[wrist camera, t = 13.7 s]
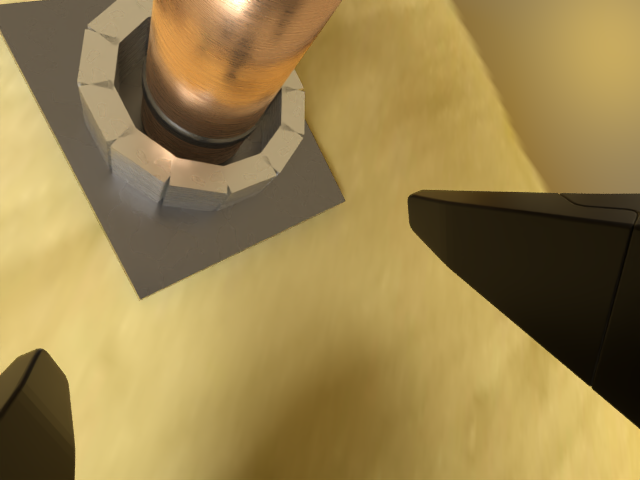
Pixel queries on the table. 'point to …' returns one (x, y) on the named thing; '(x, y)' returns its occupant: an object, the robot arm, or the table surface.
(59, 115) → the plate
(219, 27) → the tan cylinder
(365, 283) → the table surface
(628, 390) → the robot arm
